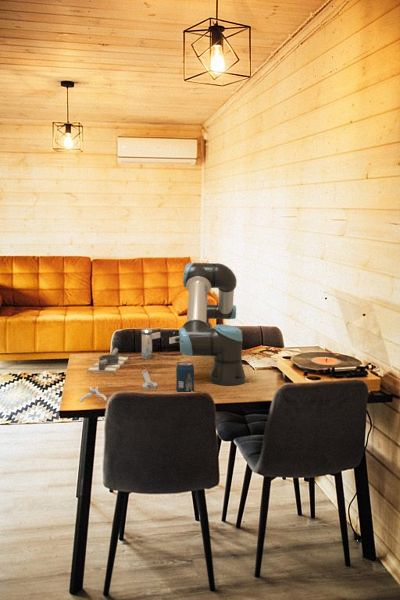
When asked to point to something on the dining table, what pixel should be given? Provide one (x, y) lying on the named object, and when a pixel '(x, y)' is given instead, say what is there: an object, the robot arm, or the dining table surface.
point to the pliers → (93, 393)
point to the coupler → (146, 343)
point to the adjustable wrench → (148, 381)
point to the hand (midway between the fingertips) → (160, 338)
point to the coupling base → (108, 363)
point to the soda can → (185, 377)
